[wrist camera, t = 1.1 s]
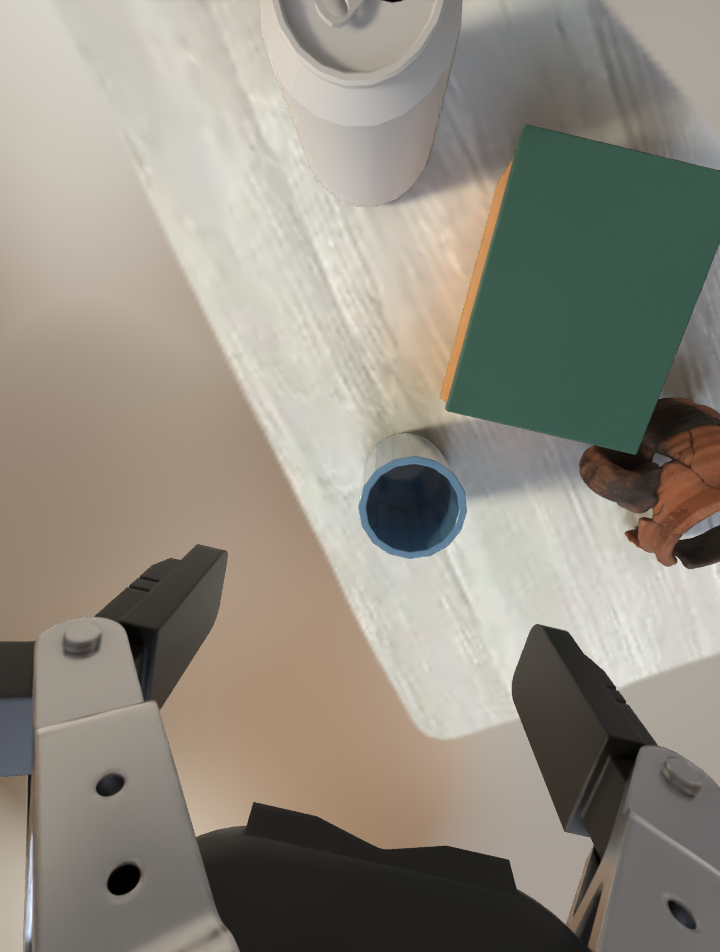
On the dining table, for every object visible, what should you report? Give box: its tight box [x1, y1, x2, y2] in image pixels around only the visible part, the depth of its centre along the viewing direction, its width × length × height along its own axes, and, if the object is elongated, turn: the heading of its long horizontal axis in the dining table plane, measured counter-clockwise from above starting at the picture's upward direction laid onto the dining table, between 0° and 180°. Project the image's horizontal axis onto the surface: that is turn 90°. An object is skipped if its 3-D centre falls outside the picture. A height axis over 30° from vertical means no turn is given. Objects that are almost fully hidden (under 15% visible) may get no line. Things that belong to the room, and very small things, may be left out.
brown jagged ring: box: [579, 398, 720, 569], centre depth 28 cm, size 12×10×8 cm
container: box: [440, 125, 720, 455], centre depth 25 cm, size 14×11×6 cm
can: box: [260, 0, 462, 207], centre depth 21 cm, size 8×8×12 cm
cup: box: [358, 433, 467, 559], centre depth 27 cm, size 6×6×8 cm
